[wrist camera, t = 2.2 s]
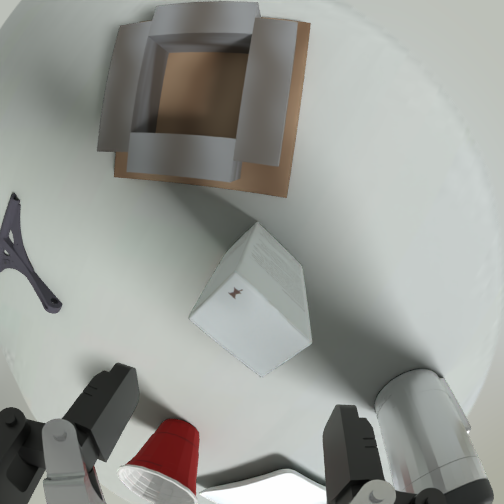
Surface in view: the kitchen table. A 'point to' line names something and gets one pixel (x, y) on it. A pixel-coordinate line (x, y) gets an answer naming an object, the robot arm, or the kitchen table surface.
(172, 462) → the plastic cup
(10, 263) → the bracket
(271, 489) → the salad plate
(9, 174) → the kitchen table surface
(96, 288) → the kitchen table surface
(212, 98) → the holder
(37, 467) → the robot arm
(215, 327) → the skincare box
